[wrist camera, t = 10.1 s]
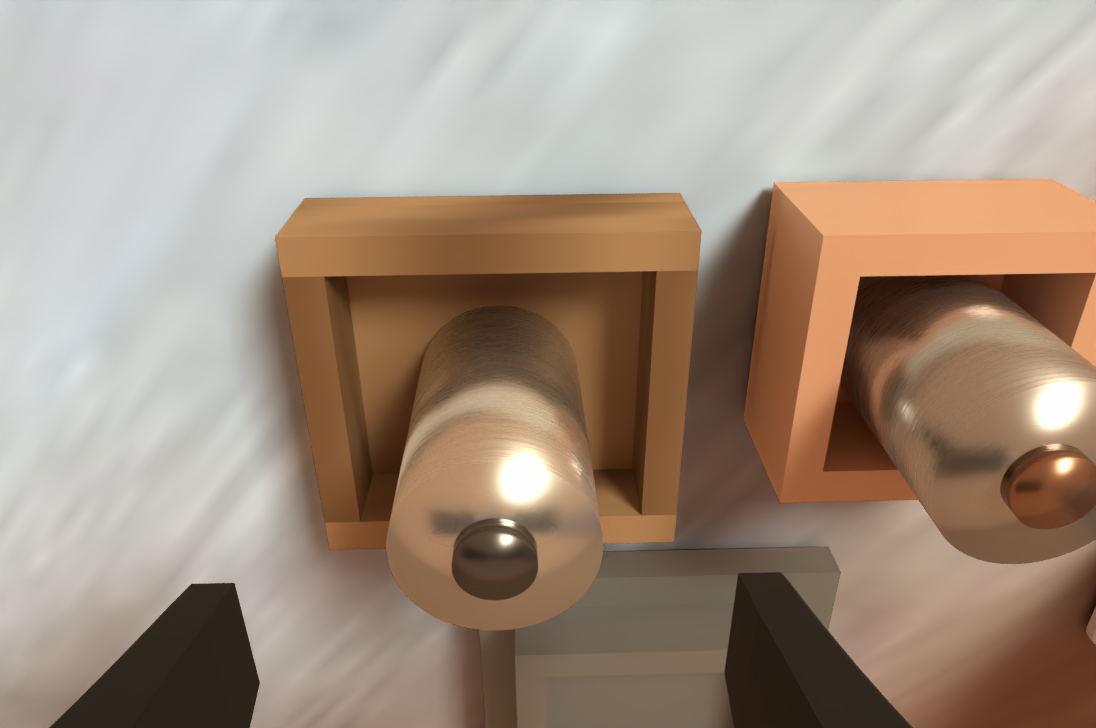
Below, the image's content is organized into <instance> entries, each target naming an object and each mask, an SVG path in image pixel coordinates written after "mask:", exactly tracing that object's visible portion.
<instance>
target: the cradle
mask: <svg viewBox="0 0 1096 728" xmlns="http://www.w3.org/2000/svg"><path fill="white" fill-rule="evenodd" d="M765 572H781V573H782V574H783V575H784V576H785V577H786V578H787V579H788V580H789V582H790V583H791V584H792V586H793V587H794V588H795V590H796V591H797V592H798V593H799V595H800V596H801V597H802V599H803V600H804V601H805V602H806V604H807V605H808V606H809V608H810V609H811V610H812V611H813V613H814V614H815V615H816V616H817V618H818V619H819V620H820V621H821V623H822V624H823V625H824V626H825V628H826V629H827V630H828V628H829V623H830V619H831V614H832V610H833V605H834V601H835V596H836V592H837V587H838V582H839V578H840V573H841V572H840V570H839V568H838V566H837V564H836V561H835V559H834V557H833V555H832V553H831V551H830V549H829V547H792V548H750V549H707V550H664V551H622V552H603V555H602V561H601V564H600V568H599V571H598V573H597V575H596V577H595V579H594V581H593V582H592V584H591V585H590V587H589V588H588V590H587V591H586V592H585V593H584V594H583V595H582V597H581V598H580V599H579V600H577V601H576V602H575V603H574V604H573V605H572V606H570V607H569V608H567V609H566V610H564V611H563V612H562V613H560V614H558V615H556V616H554V617H552V618H550V619H548V620H545V621H543V622H540V623H538V624H534V625H531V626H527V627H523V628H517V629H511V630H479V635H480V651H481V666H482V682H483V698H484V713H485V728H734V724H733V718H732V713H731V708H730V702H729V696H728V691H727V685H726V679H725V674H724V671H725V664H726V657H727V650H728V643H729V636H730V628H731V621H732V614H733V607H734V600H735V593H736V585H737V578H738V573H765Z"/></svg>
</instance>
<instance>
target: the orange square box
mask: <svg viewBox="0 0 1096 728" xmlns="http://www.w3.org/2000/svg"><path fill="white" fill-rule="evenodd" d="M925 275H980V276H981V277H983V278H984V279H985V280H987V281H988V282H989V283H990V284H992V285H993V286H994V287H995V288H997V289H998V290H999V291H1000V292H1002V293H1003V294H1004V295H1005V296H1007V297H1008V298H1009V299H1011V300H1012V301H1013V302H1014V303H1016V304H1017V305H1018V306H1019V307H1021V308H1022V309H1023V310H1024V311H1026V312H1027V313H1028V314H1030V315H1031V316H1032V317H1033V318H1035V319H1036V320H1037V321H1038V322H1040V323H1041V324H1042V325H1043V326H1045V327H1046V328H1047V329H1048V330H1050V331H1051V332H1052V333H1054V334H1055V335H1056V336H1057V337H1059V338H1060V339H1061V340H1062V341H1064V342H1065V343H1066V344H1067V345H1069V346H1070V347H1071V348H1073V349H1074V350H1075V351H1076V352H1078V353H1079V354H1080V355H1081V356H1083V357H1084V358H1085V359H1086V360H1088V361H1089V362H1090V363H1091V364H1093V365H1094V366H1095V367H1096V201H1094V200H1092V199H1090V198H1088V197H1086V196H1084V195H1082V194H1080V193H1078V192H1076V191H1074V190H1072V189H1070V188H1068V187H1066V186H1064V185H1062V184H1060V183H1058V182H1056V181H1054V180H1052V179H996V180H924V181H852V182H780V183H774V186H773V194H772V201H771V209H770V217H769V225H768V233H767V240H766V248H765V256H764V264H763V271H762V279H761V287H760V295H759V302H758V310H757V318H756V326H755V334H754V341H753V349H752V357H751V365H750V372H749V380H748V388H747V396H746V403H745V411H744V419H743V420H744V422H745V424H746V426H747V429H748V431H749V433H750V436H751V438H752V440H753V442H754V445H755V447H756V449H757V452H758V454H759V456H760V458H761V461H762V463H763V465H764V468H765V470H766V472H767V475H768V477H769V479H770V481H771V484H772V486H773V488H774V491H775V493H776V495H777V497H778V500H779V502H780V503H797V502H842V501H887V500H918V498H917V497H916V495H915V494H914V492H913V491H912V489H911V488H910V486H909V485H908V483H907V482H906V480H905V479H904V477H903V476H902V475H901V473H900V472H899V470H898V469H897V467H896V466H895V464H894V463H893V461H892V460H891V458H890V457H889V455H888V454H887V452H886V451H885V449H884V448H883V446H882V445H881V443H880V442H879V441H878V439H877V438H876V436H875V435H874V433H873V432H872V430H871V429H870V427H869V426H868V424H867V423H866V421H865V420H864V418H863V417H862V415H861V414H860V412H859V411H858V409H857V408H856V406H855V405H854V404H853V402H852V401H851V399H850V398H849V396H848V395H847V393H846V392H845V390H844V389H843V387H842V386H841V384H840V379H841V374H842V369H843V363H844V358H845V353H846V348H847V342H848V337H849V332H850V327H851V321H852V316H853V311H854V306H855V301H856V295H857V290H858V285H859V280H860V277H864V276H925Z"/></svg>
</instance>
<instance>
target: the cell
mask: <svg viewBox="0 0 1096 728" xmlns="http://www.w3.org/2000/svg"><path fill="white" fill-rule="evenodd" d="M386 555H387V560H388V564H389V567H390V570H391V573H392V575H393V577H394V579H395V581H396V582H397V584H398V586H399V587H400V588H401V590H402V591H403V592H404V593H405V595H406V596H407V597H408V598H409V599H410V600H411V601H412V602H414V603H415V604H416V605H417V606H419V607H420V608H421V609H423V610H424V611H426V612H427V613H429V614H431V615H433V616H434V617H436V618H439V619H441V620H443V621H445V622H448V623H451V624H454V625H458V626H461V627H466V628H471V629H479V630H511V629H517V628H523V627H527V626H531V625H534V624H538V623H540V622H543V621H545V620H548V619H550V618H552V617H554V616H556V615H558V614H560V613H562V612H563V611H564V610H566V609H567V608H569V607H570V606H572V605H573V604H574V603H575V602H576V601H577V600H579V599H580V598H581V597H582V595H583V594H584V593H585V592H586V591H587V590H588V588H589V587H590V585H591V584H592V582H593V581H594V579H595V577H596V575H597V573H598V571H599V568H600V564H601V561H602V555H603V536H602V529H601V522H600V516H599V509H598V502H597V496H596V489H595V482H594V475H593V469H592V462H591V455H590V449H589V442H588V435H587V428H586V422H585V415H584V408H583V402H582V395H581V388H580V381H579V375H578V368H577V363H576V358H575V355H574V352H573V350H572V347H571V346H570V344H569V342H568V340H567V339H566V338H565V336H564V335H563V334H562V332H561V331H560V330H559V329H558V328H557V327H556V326H555V325H553V324H552V323H551V322H549V321H548V320H547V319H545V318H543V317H542V316H540V315H538V314H536V313H534V312H531V311H529V310H526V309H522V308H519V307H513V306H503V305H495V306H485V307H480V308H475V309H472V310H469V311H466V312H464V313H462V314H460V315H458V316H456V317H455V318H453V319H452V320H450V321H449V322H447V323H446V324H445V325H444V326H443V327H442V328H440V330H439V331H438V332H437V333H436V334H435V335H434V337H433V338H432V340H431V341H430V343H429V345H428V347H427V349H426V351H425V354H424V358H423V361H422V366H421V371H420V376H419V381H418V386H417V391H416V395H415V400H414V405H413V410H412V415H411V420H410V425H409V430H408V435H407V440H406V444H405V449H404V454H403V459H402V464H401V469H400V474H399V479H398V484H397V489H396V493H395V498H394V503H393V508H392V513H391V518H390V523H389V528H388V533H387V540H386Z"/></svg>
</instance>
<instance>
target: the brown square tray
mask: <svg viewBox="0 0 1096 728" xmlns="http://www.w3.org/2000/svg"><path fill="white" fill-rule="evenodd" d="M275 241H276V246H277V252H278V258H279V264H280V269H281V275H282V281H283V286H284V292H285V298H286V304H287V309H288V315H289V321H290V327H291V332H292V338H293V344H294V349H295V355H296V361H297V367H298V372H299V378H300V384H301V390H302V395H303V401H304V407H305V412H306V418H307V424H308V430H309V435H310V441H311V447H312V453H313V458H314V464H315V470H316V475H317V481H318V487H319V493H320V498H321V504H322V510H323V516H324V521H325V527H326V533H327V538H328V544H329V550H344V549H386V540H387V533H388V528H389V523H390V518H391V513H392V508H393V503H394V498H395V493H396V489H397V484H398V479H399V474H400V469H401V464H402V459H403V454H404V449H405V444H406V440H407V435H408V430H409V425H410V420H411V415H412V410H413V405H414V400H415V395H416V391H417V386H418V381H419V376H420V371H421V366H422V361H423V358H424V354H425V351H426V349H427V347H428V345H429V343H430V341H431V340H432V338H433V337H434V335H435V334H436V333H437V332H438V331H439V330H440V328H442V327H443V326H444V325H445V324H446V323H447V322H449V321H450V320H452V319H453V318H455V317H456V316H458V315H460V314H462V313H464V312H466V311H469V310H472V309H475V308H480V307H485V306H495V305H503V306H513V307H519V308H522V309H526V310H529V311H531V312H534V313H536V314H538V315H540V316H542V317H543V318H545V319H547V320H548V321H549V322H551V323H552V324H553V325H555V326H556V327H557V328H558V329H559V330H560V331H561V332H562V334H563V335H564V336H565V338H566V339H567V340H568V342H569V344H570V346H571V347H572V350H573V352H574V355H575V358H576V363H577V368H578V375H579V381H580V388H581V395H582V402H583V408H584V415H585V422H586V428H587V435H588V442H589V449H590V455H591V462H592V469H593V475H594V482H595V489H596V496H597V502H598V509H599V516H600V522H601V529H602V536H603V543H645V542H674V537H675V526H676V515H677V503H678V492H679V481H680V469H681V458H682V447H683V435H684V424H685V412H686V401H687V390H688V378H689V367H690V356H691V344H692V333H693V322H694V310H695V299H696V288H697V276H698V265H699V253H700V242H701V229H700V227H699V226H698V224H697V222H696V220H695V219H694V217H693V215H692V213H691V212H690V210H689V208H688V206H687V204H686V203H685V201H684V199H683V197H682V196H681V194H680V193H647V194H576V195H505V196H434V197H363V198H305V199H304V200H303V201H302V203H301V204H300V205H299V207H298V208H297V209H296V210H295V212H294V213H293V214H292V216H291V217H290V218H289V220H288V221H287V222H286V224H285V225H284V226H283V228H282V229H281V230H280V231H279V233H278V234H277V235H276V237H275Z"/></svg>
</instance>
